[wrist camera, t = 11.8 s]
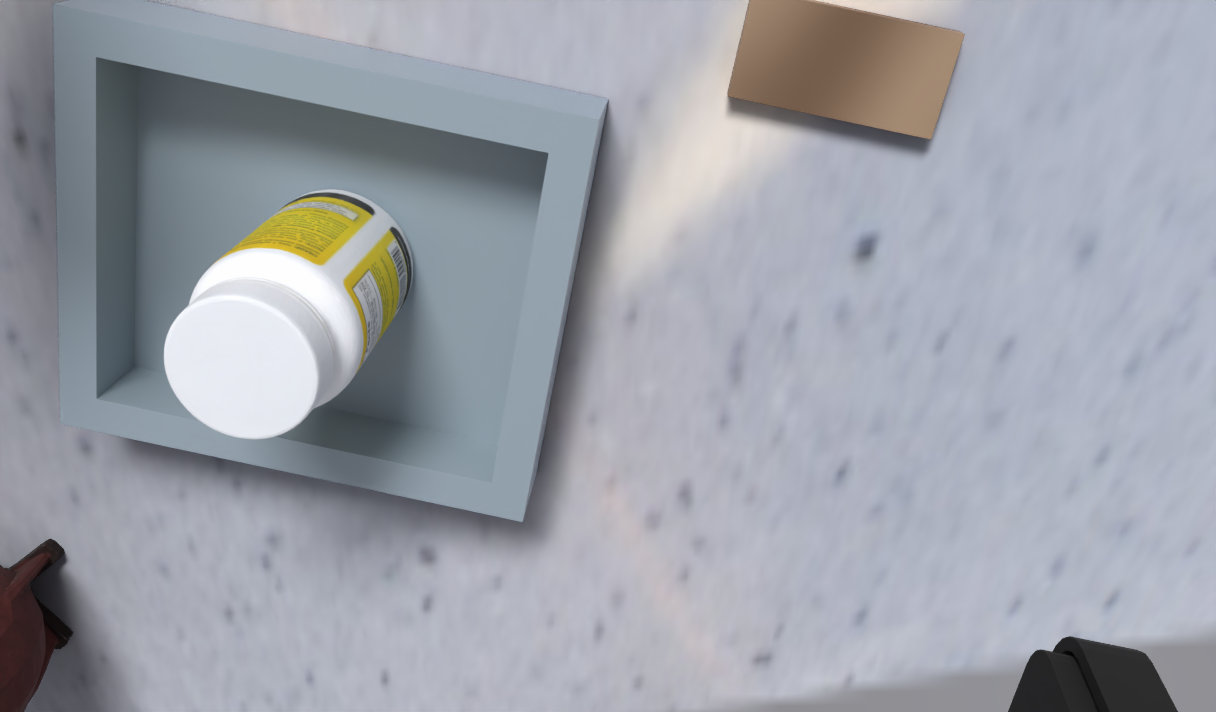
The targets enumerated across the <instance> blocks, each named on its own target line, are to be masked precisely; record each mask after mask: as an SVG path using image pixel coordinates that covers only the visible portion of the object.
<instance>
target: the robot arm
mask: <svg viewBox="0 0 1216 712" xmlns="http://www.w3.org/2000/svg"><path fill="white" fill-rule="evenodd" d="M1008 712H1178V711H1177V709H1176V707H1175V705H1174V703H1173V702H1172V700H1171V698H1170V696H1169V694H1168V692H1167V690H1166V688H1165V686H1164V684H1163V683H1162V681H1161V679H1160V677H1159V675H1158V673H1157V671H1156V669H1155V667H1154V665H1153V663H1152V662H1151V660H1150V659H1149V658H1148V656H1147V655H1146V654H1145V653H1143V652H1141V651H1138V650H1134V649H1129V648H1124V647H1120V646H1115V645H1110V644H1105V643H1100V642H1095V641H1090V640H1085V639H1080V638H1075V637H1070V636H1069V637H1066V638H1063V639H1062V640H1061V641H1060V642H1059V643H1058V644H1057V645H1056V646H1055V648H1054V650H1053V652H1051V651H1046V650H1037V651H1035V652H1034V653H1033V654H1032V656H1031V657H1030V659H1029V661H1028V663H1027V665H1026V667H1025V670H1024V673H1023V675H1022V678H1021V680H1020V683H1019V685H1018V688H1017V690H1016V693H1015V695H1014V698H1013V701H1012V703H1011V706H1010V708H1009V711H1008Z"/></svg>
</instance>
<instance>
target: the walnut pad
mask: <svg viewBox="0 0 1216 712" xmlns="http://www.w3.org/2000/svg"><path fill="white" fill-rule="evenodd" d="M964 35H965V34H963V33H962V32H960V31H956V30H951V29H946V28H941V27H937V26H932V25H927V24H923V23H918V22H913V21H908V20H904V19H899V18H894V17H890V16H885V15H880V14H875V13H871V12H866V11H861V10H857V9H852V8H847V7H842V6H838V5H833V4H828V3H824V2H819V1H814V0H749V4H748V8H747V12H746V17H745V21H744V25H743V29H742V34H741V38H740V42H739V46H738V50H737V55H736V59H735V63H734V67H733V72H732V76H731V80H730V84H729V89H728V96H729V97H733V98H738V99H743V100H747V101H752V102H757V103H761V104H766V105H771V106H776V107H780V108H785V109H790V110H794V111H799V112H804V113H809V114H813V115H818V116H823V117H827V118H832V119H837V120H842V121H846V122H851V123H856V124H860V125H865V126H870V127H875V128H879V129H884V130H889V131H893V132H898V133H903V134H908V135H912V136H917V137H922V138H926V139H931V138H932V135H933V132H934V129H935V126H936V123H937V120H938V117H939V113H940V110H941V107H942V104H943V101H944V98H945V95H946V91H947V88H948V85H949V82H950V79H951V76H952V73H953V69H954V66H955V63H956V60H957V57H958V54H959V51H960V47H961V44H962V41H963V38H964Z"/></svg>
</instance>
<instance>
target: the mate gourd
mask: <svg viewBox="0 0 1216 712" xmlns="http://www.w3.org/2000/svg"><path fill="white" fill-rule="evenodd" d="M64 553H65V552H64V549H63V548H62V547H61V546H60V545H59V544H58V543H57V542H56V541H55V540H52V539H48V540H47V541H45V542H44V543H42V544H41V545H40V546H38V547H37V548H36V549H34V550H33V551H32V552H30V553H29V554H28V555H27V556H25V557H24V558H23V559H21V560H20V561H19V562H18V563H16V564H15V565H13V566H12V567H10V568H9V569H8V568H3V567H2V566H1V565H0V712H24V710H25V708H26V706H27V704H28V703H29V701H30V700H31V698H32V697H33V695H34V694H35V692H36V691H37V689H38V687H39V685H40V682H41V680H42V678H43V675H44V673H45V671H46V668H47V665H48V663H49V660H50V657H51V655H52V653H53V650H54V648H55V649H61V648H62V647H64V646H65V645H66V644H67V643H68V641H69V639H70V637H71V636H72V633H73V632H72V631H71V630H70V629H69V628H68V627H67V626H66V625H65V624H64V623H63V622H62V621H61V620H60V619H59V618H57V617H56V616H55V615H54V614H53V613H52V612H51V611H50V610H49V609H48V608H46V607H45V606H44V605H43V604H42V603H41V602H40V601H39V600H38V599H36V598H35V597H34V595H33V593H32V590H31V587H30V582H31V581H32V580H33V579H35V578H36V577H37V576H39V575H40V574H41V573H42V572H44V571H45V570H46V569H48V568H49V567H50V566H52V565H53V564H54V563H55V562H56V561H57V560H58V559H59V558H60V557H61V556H62V555H63V554H64Z"/></svg>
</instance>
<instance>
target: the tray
mask: <svg viewBox="0 0 1216 712" xmlns="http://www.w3.org/2000/svg"><path fill="white" fill-rule="evenodd" d="M53 47H54V105H55V163H56V221H57V279H58V337H59V395H60V424H63V425H67V426H72V427H77V428H82V429H86V430H91V431H96V432H100V433H105V434H110V435H115V436H119V437H124V438H129V439H133V440H138V441H143V442H148V443H152V444H157V445H162V446H166V447H171V448H176V449H181V450H185V451H190V452H195V453H199V454H204V455H209V456H214V457H218V458H223V459H228V460H232V461H237V462H242V463H246V464H251V465H256V466H261V467H265V468H270V469H275V470H279V471H284V472H289V473H294V474H298V475H303V476H308V477H312V478H317V479H322V480H327V481H331V482H336V483H341V484H345V485H350V486H355V487H360V488H364V489H369V490H374V491H378V492H383V493H388V494H393V495H397V496H402V497H407V498H411V499H416V500H421V501H426V502H430V503H435V504H440V505H444V506H449V507H454V508H459V509H463V510H468V511H473V512H477V513H482V514H487V515H491V516H496V517H501V518H506V519H510V520H515V521H520V522H523V519H524V516H525V512H526V509H527V506H528V502H529V499H530V495H531V492H532V488H533V485H534V481H535V478H536V474H537V469H538V463H539V458H540V453H541V448H542V443H543V437H544V432H545V427H546V422H547V417H548V411H549V406H550V401H551V396H552V390H553V385H554V380H555V375H556V370H557V364H558V359H559V354H560V349H561V344H562V338H563V333H564V328H565V323H566V318H567V312H568V307H569V302H570V297H571V291H572V286H573V281H574V276H575V271H576V265H577V260H578V255H579V250H580V245H581V239H582V234H583V229H584V224H585V218H586V213H587V208H588V203H589V198H590V192H591V187H592V182H593V177H594V172H595V166H596V161H597V156H598V151H599V146H600V140H601V135H602V130H603V125H604V119H605V114H606V109H607V104H608V99H607V98H603V97H598V96H593V95H588V94H584V93H579V92H574V91H570V90H565V89H560V88H555V87H551V86H546V85H541V84H537V83H532V82H527V81H522V80H518V79H513V78H508V77H504V76H499V75H494V74H489V73H485V72H480V71H475V70H471V69H466V68H461V67H456V66H452V65H447V64H442V63H438V62H433V61H428V60H424V59H419V58H414V57H409V56H405V55H400V54H395V53H391V52H386V51H381V50H376V49H372V48H367V47H362V46H358V45H353V44H348V43H343V42H339V41H334V40H329V39H325V38H320V37H315V36H310V35H306V34H301V33H296V32H292V31H287V30H282V29H277V28H273V27H268V26H263V25H259V24H254V23H249V22H245V21H240V20H235V19H230V18H226V17H221V16H216V15H212V14H207V13H202V12H197V11H193V10H188V9H183V8H179V7H174V6H169V5H164V4H160V3H155V2H150V1H146V0H68V1H63V2H58V3H53ZM326 189H336V190H344V191H348V192H352V193H355V194H358V195H360V196H362V197H365V198H366V199H368V200H370V201H372V202H373V203H375V204H376V205H378V206H379V207H381V208H382V209H383V210H384V211H386V212H387V213H388V214H389V215H390V216H391V217H392V218H393V219H394V220H395V222H396V223H397V224H398V225H399V227H400V228H401V230H402V231H403V233H404V235H405V237H406V239H407V241H408V244H409V246H410V250H411V254H412V259H413V279H412V284H411V288H410V291H409V294H408V296H407V298H406V300H405V302H404V304H403V305H402V307H401V309H400V310H399V311H398V313H397V314H396V316H395V317H394V319H393V320H392V322H391V323H390V325H389V326H388V328H387V329H386V331H385V332H384V334H383V335H382V336H381V338H380V339H379V341H378V342H377V344H376V345H375V347H374V348H373V350H372V351H371V353H370V354H369V356H368V357H367V358H366V360H365V361H364V363H363V364H362V366H361V367H360V369H359V370H358V372H357V373H356V374H355V376H354V377H353V379H352V380H351V382H350V383H349V384H348V385H347V386H346V387H345V388H344V389H343V390H342V391H341V392H340V393H339V394H338V395H337V396H335V397H334V398H333V399H331V400H330V401H328V402H327V403H325V404H323V405H320V406H318V407H316V408H314V409H313V410H312V411H311V412H310V413H309V415H308V416H307V417H306V418H305V419H304V420H303V421H302V422H301V423H300V424H298V425H297V426H296V427H295V428H293V429H291V430H290V431H288V432H286V433H284V434H281V435H278V436H275V437H271V438H266V439H256V440H255V439H243V438H237V437H232V436H229V435H226V434H223V433H220V432H218V431H216V430H214V429H212V428H210V427H208V426H207V425H205V424H203V423H202V422H200V421H199V420H198V419H197V418H195V417H194V416H193V415H192V414H191V413H190V412H189V411H188V410H187V409H186V408H185V407H184V406H183V404H182V403H181V402H180V401H179V399H178V398H177V396H176V395H175V393H174V392H173V390H172V388H171V386H170V383H169V381H168V378H167V375H166V371H165V366H164V346H165V341H166V337H167V334H168V332H169V329H170V327H171V325H172V324H173V322H174V321H175V319H176V318H177V316H178V315H179V314H180V313H181V312H182V311H183V310H184V309H185V308H186V307H187V306H188V305H189V301H190V298H191V295H192V293H193V291H194V288H195V287H196V285H197V283H198V281H199V280H200V278H201V277H202V276H203V274H204V273H205V272H206V271H207V270H208V269H209V268H210V267H211V266H212V265H213V264H214V263H215V262H216V261H217V260H218V259H220V258H221V257H222V256H223V255H225V254H226V253H227V252H228V251H230V250H231V249H232V248H234V247H235V246H236V245H237V244H238V243H240V242H241V241H242V240H243V239H245V238H246V237H247V236H248V235H250V234H251V233H252V232H253V231H254V230H256V229H257V228H258V227H259V226H261V225H262V224H263V223H264V222H265V221H267V220H268V219H269V218H270V217H272V216H273V215H274V214H275V213H277V212H278V211H279V210H280V209H281V208H282V207H284V206H285V205H287V204H288V203H289V202H291V201H292V200H294V199H296V198H297V197H300V196H302V195H304V194H307V193H310V192H313V191H318V190H326Z"/></svg>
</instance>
